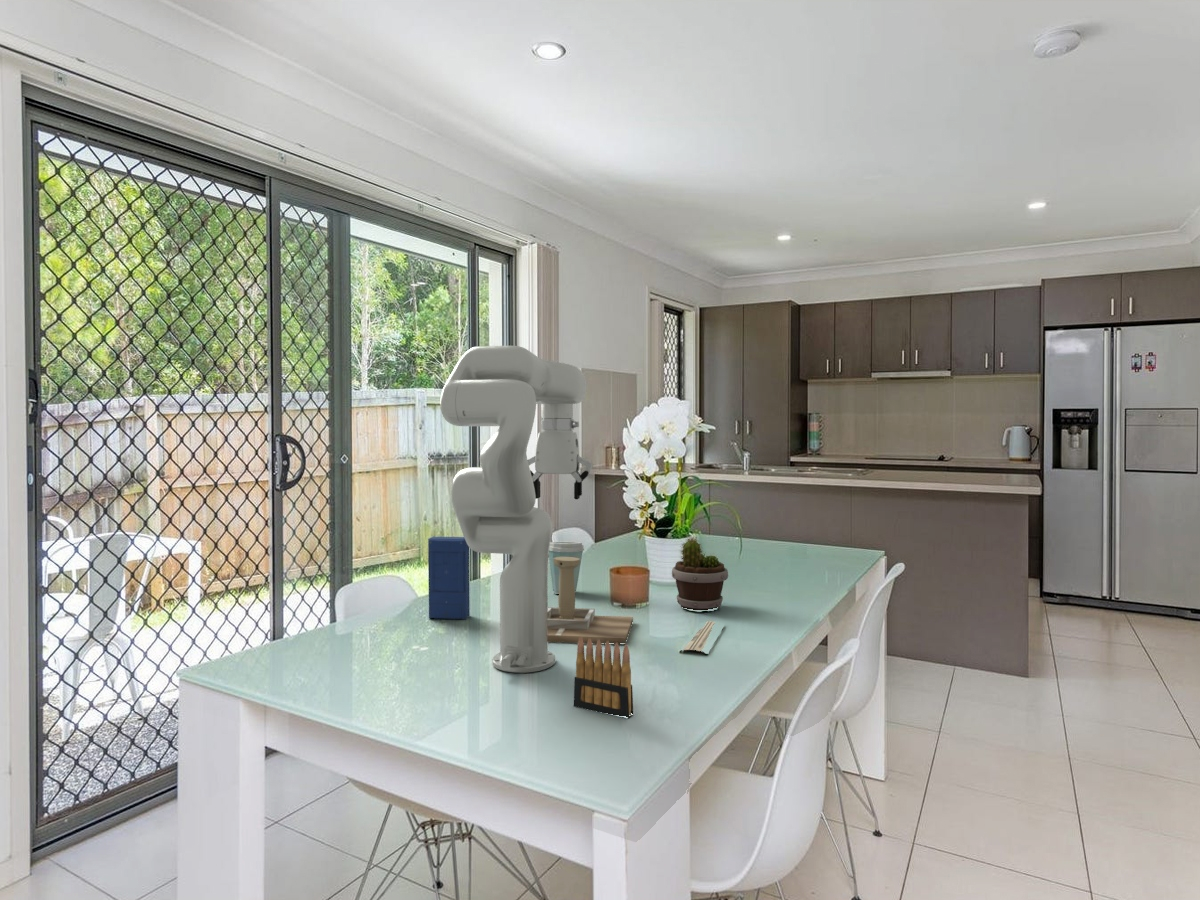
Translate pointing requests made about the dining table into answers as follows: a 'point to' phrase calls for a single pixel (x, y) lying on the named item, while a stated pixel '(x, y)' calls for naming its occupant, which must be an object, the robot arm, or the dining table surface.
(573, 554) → the disposable coffee cup
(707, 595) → the flowerpot
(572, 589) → the handle
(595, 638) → the board
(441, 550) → the electronic device
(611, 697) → the ammunition clip
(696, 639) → the beige flat strip
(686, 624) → the dining table surface
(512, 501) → the robot arm
